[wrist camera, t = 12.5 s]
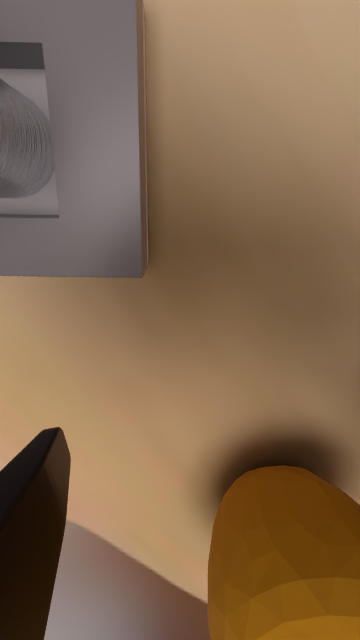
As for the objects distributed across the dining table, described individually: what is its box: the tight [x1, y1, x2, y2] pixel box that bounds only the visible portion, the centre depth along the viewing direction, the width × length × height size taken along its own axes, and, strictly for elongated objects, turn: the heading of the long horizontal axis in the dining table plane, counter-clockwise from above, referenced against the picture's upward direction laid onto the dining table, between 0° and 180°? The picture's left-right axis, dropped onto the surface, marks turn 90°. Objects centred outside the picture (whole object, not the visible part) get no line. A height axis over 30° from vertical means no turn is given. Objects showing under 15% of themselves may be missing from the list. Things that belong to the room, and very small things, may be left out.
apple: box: [208, 465, 360, 640], centre depth 20 cm, size 11×11×13 cm
